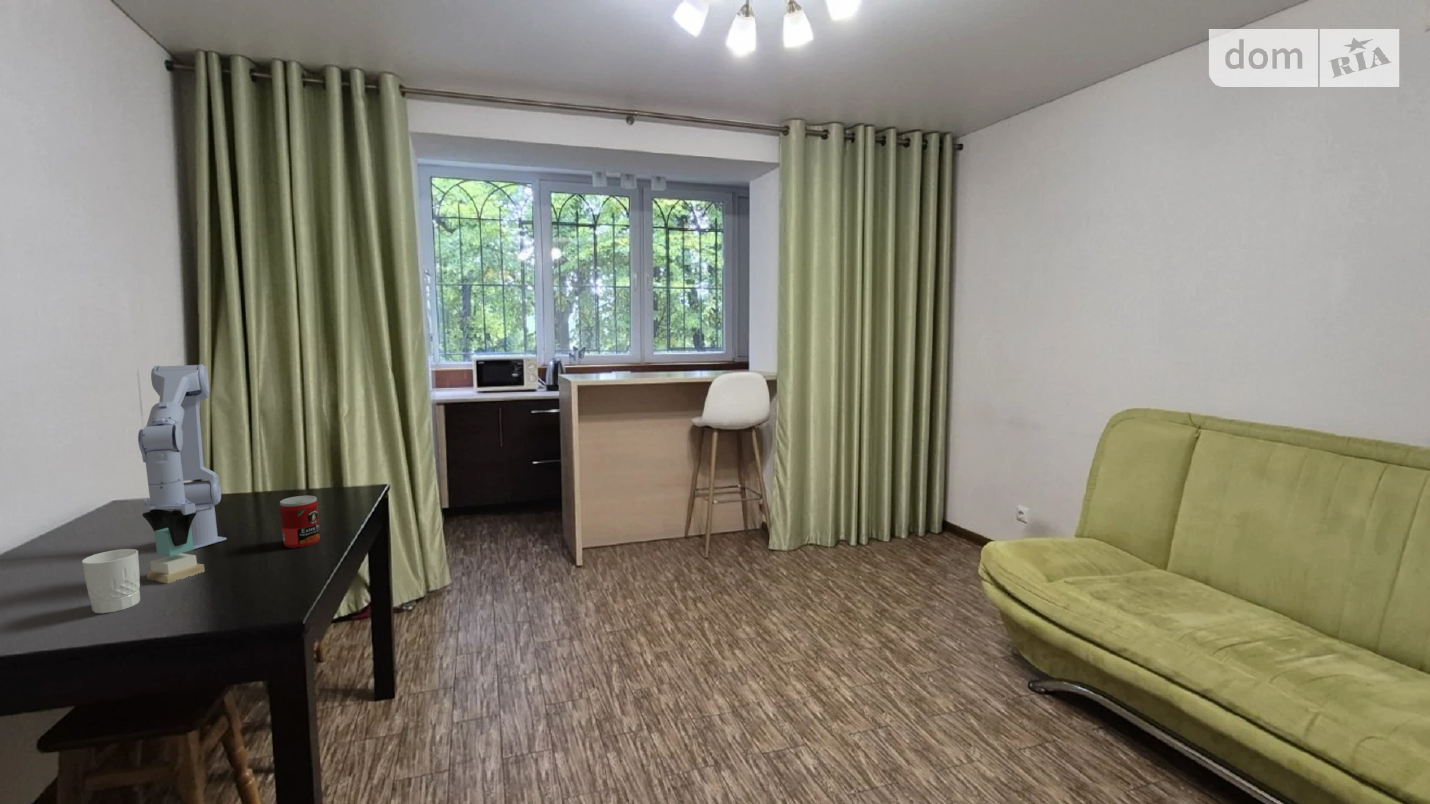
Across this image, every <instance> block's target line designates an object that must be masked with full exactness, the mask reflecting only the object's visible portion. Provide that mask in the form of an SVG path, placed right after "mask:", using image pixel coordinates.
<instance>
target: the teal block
mask: <svg viewBox="0 0 1430 804" xmlns="http://www.w3.org/2000/svg"><path fill="white" fill-rule="evenodd" d="M153 532H154V540H155V547H156V555H161V556H165V557H167V556H173V555H177V554H180V553H183V554H184V553H186V552H187V553H188V552H190V551H194V550H195V549H194V546H193V537H192V528H191V527H190V529H189V534H188V539H187V543H186V544H183V545H180V546H174V544H173V542H172V539H171V535H170V532H169V529H168V528H164V529H161V530H157V531H154V530H153Z"/></svg>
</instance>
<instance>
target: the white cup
mask: <svg viewBox="0 0 1430 804" xmlns="http://www.w3.org/2000/svg"><path fill="white" fill-rule="evenodd" d="M139 559H140V558H139V550H137V549H134V548H121V549H114V550H108V551H103V552H99V553H95V554H92V555H90V556H87V557H85V558H83V559H82V560H81V565H82V569H83V575H84V580H85V581H84V582H85V586H86V589H87V594H88V597H89V600H90V606H91V611H92V612H93V613H95V614H107V613H114V612H120V611H123V610H126V609H129V608H131V607H134V606H136V605H138V604H139V602H140V601H141V591H140V586H141V583H140V582H141V581H140V573H141V572H140V563H139V561H140V560H139Z"/></svg>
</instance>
